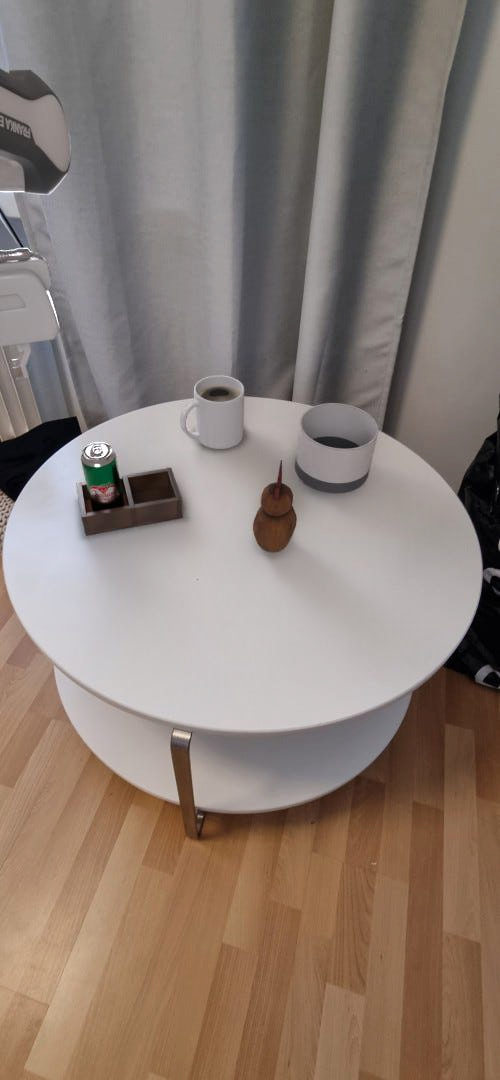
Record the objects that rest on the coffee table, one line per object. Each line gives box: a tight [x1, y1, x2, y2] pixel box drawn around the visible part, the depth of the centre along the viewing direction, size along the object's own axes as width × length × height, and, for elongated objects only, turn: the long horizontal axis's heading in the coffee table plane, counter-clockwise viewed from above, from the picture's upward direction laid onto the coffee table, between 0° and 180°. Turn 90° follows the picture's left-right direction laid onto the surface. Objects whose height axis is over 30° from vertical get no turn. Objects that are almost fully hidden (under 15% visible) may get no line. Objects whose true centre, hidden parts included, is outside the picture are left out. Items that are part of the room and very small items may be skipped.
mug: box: [179, 374, 245, 450], centre depth 106 cm, size 11×10×10 cm
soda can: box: [80, 441, 124, 512], centre depth 89 cm, size 5×5×12 cm
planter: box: [294, 402, 380, 494], centre depth 99 cm, size 13×13×10 cm
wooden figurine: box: [252, 459, 298, 553], centre depth 86 cm, size 7×6×15 cm
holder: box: [75, 467, 184, 537], centre depth 94 cm, size 15×8×4 cm, turn 107°
